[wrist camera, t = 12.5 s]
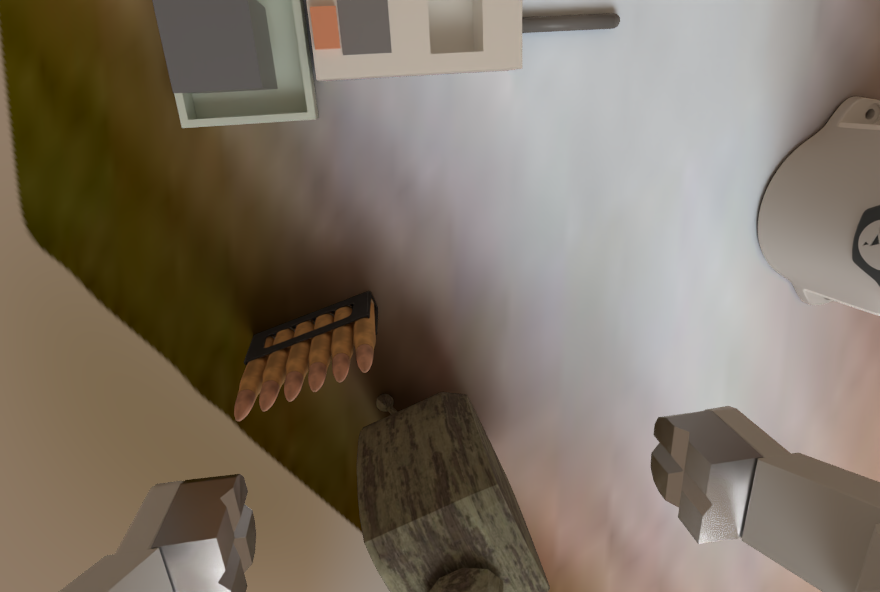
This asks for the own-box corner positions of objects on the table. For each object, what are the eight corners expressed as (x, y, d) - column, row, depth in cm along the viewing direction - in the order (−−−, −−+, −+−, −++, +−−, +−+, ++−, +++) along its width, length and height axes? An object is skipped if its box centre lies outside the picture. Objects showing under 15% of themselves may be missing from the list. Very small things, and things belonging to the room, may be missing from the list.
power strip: (618, -24, 39) (650, -39, 35) (613, 64, 41) (643, 61, 37) (308, -13, 36) (301, -27, 32) (320, 81, 39) (315, 79, 34)
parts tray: (300, -21, 36) (295, -29, 34) (318, 117, 39) (315, 119, 37) (163, -16, 35) (148, -24, 33) (193, 125, 38) (182, 128, 36)
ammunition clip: (370, 290, 45) (373, 354, 34) (378, 309, 46) (383, 378, 34) (252, 335, 45) (217, 414, 34) (262, 353, 46) (231, 436, 34)
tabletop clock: (357, 389, 48) (354, 663, 25) (447, 348, 48) (529, 585, 25) (422, 498, 54) (468, 806, 30) (503, 462, 53) (612, 744, 30)
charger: (272, 13, 36) (245, -11, 28) (283, 89, 38) (262, 87, 30) (199, 16, 36) (150, -8, 27) (214, 93, 37) (173, 93, 29)
